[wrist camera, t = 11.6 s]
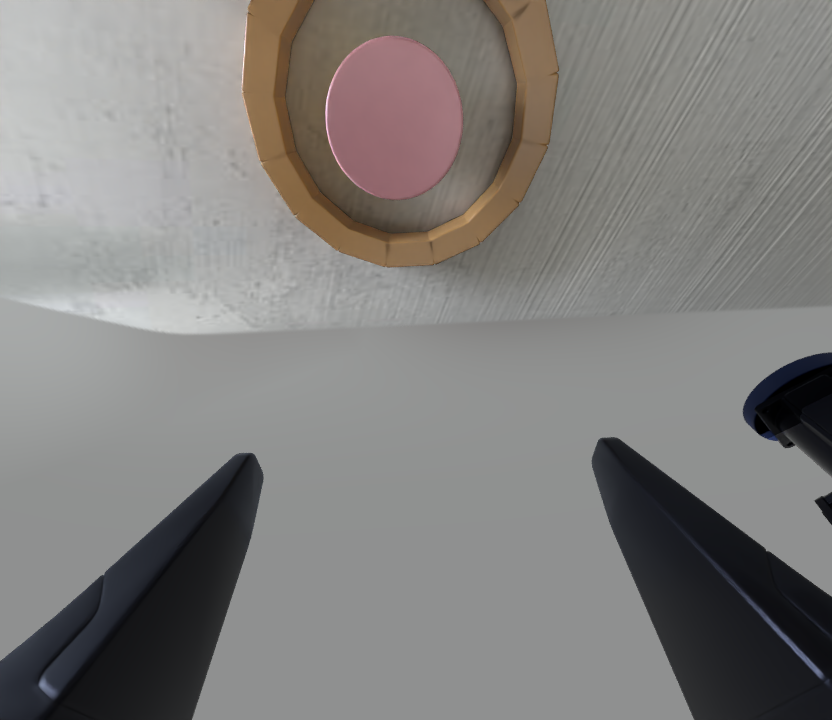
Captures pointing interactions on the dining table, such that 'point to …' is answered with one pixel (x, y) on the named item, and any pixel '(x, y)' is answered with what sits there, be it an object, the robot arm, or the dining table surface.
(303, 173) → the wooden ring
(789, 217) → the dining table surface
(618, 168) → the dining table surface
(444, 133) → the pencil stub
